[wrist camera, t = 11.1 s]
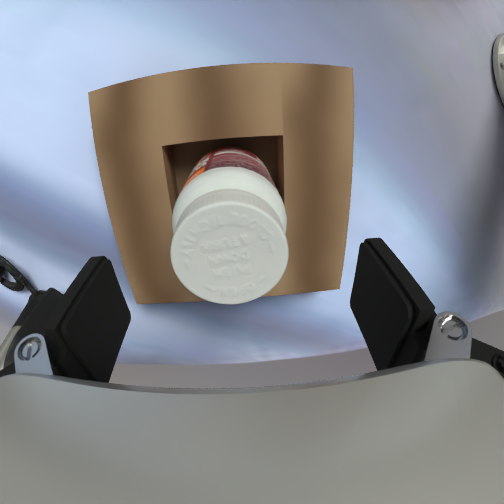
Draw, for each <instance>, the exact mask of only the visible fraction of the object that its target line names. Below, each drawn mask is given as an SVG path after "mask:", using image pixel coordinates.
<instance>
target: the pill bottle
mask: <svg viewBox="0 0 504 504" xmlns="http://www.w3.org/2000/svg"><path fill="white" fill-rule="evenodd" d="M286 227H287V216H286V211H285V207H284V203H283V201H282V198H281V196H280V194H279V192H278V190H277V188H276V186H275V184H274V182H273V180H272V178H271V176H270V174H269V172H268V170H267V168H266V167H265V165H264V164H263V162H262V161H261V160H260V159H259V158H258V157H257V156H256V155H255V154H253V153H252V152H250V151H248V150H246V149H243V148H240V147H233V146H228V147H221V148H217V149H215V150H212V151H210V152H209V153H207V154H206V155H204V156H203V157H202V158H201V159H200V160H199V162H198V163H197V164H196V166H195V167H194V169H193V170H192V172H191V174H190V176H189V177H188V179H187V181H186V183H185V185H184V186H183V189H182V190H181V192H180V194H179V196H178V199H177V201H176V203H175V206H174V209H173V215H172V229H173V234H174V235H173V238H172V242H171V248H170V257H171V263H172V266H173V269H174V272H175V274H176V275H177V277H178V279H179V280H180V282H181V283H182V284H183V285H184V286H185V287H186V288H187V289H188V290H189V291H191V292H192V293H193V294H195V295H196V296H198V297H200V298H202V299H205V300H207V301H211V302H214V303H219V304H240V303H245V302H249V301H252V300H255V299H257V298H259V297H261V296H262V295H264V294H266V293H267V292H269V291H270V290H271V289H272V288H273V287H274V286H275V285H276V284H277V283H278V282H279V280H280V279H281V277H282V275H283V274H284V271H285V269H286V266H287V262H288V254H289V251H288V243H287V238H286V235H285V233H286Z"/></svg>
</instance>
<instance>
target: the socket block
mask: <svg viewBox="0 0 504 504" xmlns="http://www.w3.org/2000/svg"><path fill="white" fill-rule="evenodd" d="M88 94H89V105H90V114H91V122H92V129H93V136H94V143H95V149H96V155H97V161H98V166H99V171H100V176H101V181H102V186H103V191H104V195H105V199H106V204H107V208H108V212H109V216H110V220H111V224H112V227H113V231H114V235H115V238H116V242H117V245H118V248H119V252H120V255H121V258H122V262H123V265H124V268H125V271H126V274H127V277H128V280H129V283H130V286H131V289H132V292H133V294H134V297H135V300H136V303H137V304H152V303H176V302H195V301H207V300H205V299H202V298H200V297H198V296H196V295H195V294H193V293H192V292H191V291H189V290H188V289H187V288H186V287H185V286H184V285H183V284H182V283H181V282H180V280H179V279H178V277H177V275H176V274H175V272H174V269H173V266H172V263H171V257H170V248H171V242H172V238H173V235H174V234H173V229H172V215H173V209H174V206H175V203H176V201H177V199H178V196H179V194H180V192H181V190H182V189H183V186H184V185H185V183H186V181H187V179H188V177H189V176H190V174H191V172H192V170H193V169H194V167H195V166H196V164H197V163H198V162H199V160H200V159H201V158H202V157H203V156H204V155H206V154H207V153H209V152H210V151H212V150H215V149H217V148H221V147H228V146H233V147H240V148H243V149H246V150H248V151H250V152H252V153H253V154H255V155H256V156H257V157H258V158H259V159H260V160H261V161H262V162H263V164H264V165H265V167H266V168H267V170H268V172H269V174H270V176H271V178H272V180H273V182H274V184H275V186H276V188H277V190H278V192H279V194H280V196H281V198H282V201H283V203H284V207H285V211H286V216H287V227H286V233H285V235H286V238H287V243H288V251H289V254H288V262H287V266H286V269H285V271H284V274H283V275H282V277H281V279H280V280H279V282H278V283H277V284H276V285H275V286H274V287H273V288H272V289H271V290H270V291H269V292H267V293H266V294H264V295H262V296H261V297H266V296H277V295H288V294H298V293H307V292H317V291H326V290H335V289H340V283H341V277H342V270H343V262H344V255H345V247H346V239H347V230H348V220H349V209H350V197H351V184H352V167H353V142H354V84H353V68H349V67H341V66H331V65H319V64H302V63H248V64H231V65H219V66H209V67H200V68H193V69H186V70H179V71H173V72H167V73H162V74H157V75H152V76H147V77H143V78H138V79H134V80H130V81H126V82H122V83H118V84H115V85H111V86H108V87H104V88H101V89H98V90H95V91H92V92H88Z"/></svg>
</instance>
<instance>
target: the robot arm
mask: <svg viewBox="0 0 504 504" xmlns="http://www.w3.org/2000/svg"><path fill="white" fill-rule="evenodd" d="M493 68H494V75H495V80H496V84H497V88H498V91H499V95H500V97H501V100H502V102H503V105H504V34H501V35H499V36H498V37H497V38H496V41H495V43H494V48H493ZM350 306H351V309H352V312H353V314H354V316H355V318H356V321H357V323H358V325H359V328H360V330H361V332H362V334H363V337H364V339H365V342H366V344H367V346H368V349H369V351H370V354H371V356H372V358H373V361H374V363H375V366H376V368H377V371H375V372H370V373H364V374H358V375H353V376H347V377H341V378H335V379H329V380H322V381H314V382H307V383H298V384H288V385H277V386H264V387H249V388H223V389H222V388H221V389H188V388H187V389H185V388H161V387H144V386H132V385H122V384H112V383H109V380H110V377H111V374H112V371H113V367H114V365H115V362H116V359H117V356H118V353H119V350H120V348H121V345H122V342H123V339H124V337H125V334H126V331H127V329H128V326H129V323H130V320H131V315H130V311H129V309H128V306H127V304H126V301H125V299H124V296H123V293H122V291H121V288H120V285H119V283H118V280H117V277H116V274H115V272H114V269H113V266H112V263H111V261H110V260H109V259H108V260H107V258H106V257H105V256H98V257H91V258H90V259H89V260H88V262H87V263H86V264H85V266H84V267H83V268H82V270H81V271H80V272H79V274H78V275H77V277H76V278H75V279H74V281H73V282H72V284H71V285H70V286H69V288H68V289H67V291H66V292H65V294H64V295H63V297H62V298H61V300H60V301H59V303H58V304H57V306H56V307H55V309H54V310H53V312H52V314H51V315H50V317H49V318H48V320H47V322H46V323H45V325H44V327H43V330H44V331H45V333H46V336H45V338H44V337H43V336H42V335H41V334H37V333H36V334H31V335H28V336H26V337H25V338H23V339H22V340H21V341H20V342H19V344H18V345H17V347H16V349H15V352H14V360H15V362H13V363H12V364H10V365H8V366H7V367H5V368H3V369H2V370H0V504H504V351H502V350H499V349H497V348H494V347H492V346H490V345H487V344H485V343H483V342H481V341H478V340H476V339H473V338H472V330H471V327H470V325H469V323H468V322H467V321H466V319H464V318H463V317H462V316H460V315H458V314H456V313H453V312H442V313H439V314H438V315H437V314H436V313H435V311H434V309H435V306H434V305H433V303H432V302H431V301H430V299H429V298H428V297H427V295H426V294H425V292H424V291H423V290H422V288H421V287H420V286H419V284H418V283H417V282H416V281H415V279H414V278H413V277H412V275H411V274H410V273H409V271H408V270H407V269H406V268H405V266H404V265H403V264H402V263H401V261H400V260H399V259H398V258H397V257H396V255H395V254H394V253H393V252H392V250H391V249H390V248H389V247H388V246H387V245H386V243H385V242H384V241H383V240H382V239H381V238H368V239H365V241H364V243H361V244H360V248H359V254H358V260H357V266H356V272H355V278H354V283H353V288H352V293H351V298H350Z"/></svg>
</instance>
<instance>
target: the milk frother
mask: <svg viewBox="0 0 504 504" xmlns="http://www.w3.org/2000/svg"><path fill="white" fill-rule="evenodd" d="M5 270H7V271H8V272H9V273H10V274H11V275H12V276H13V277H14V279H15V280H16V282H15V283H14V282H10V281H8V280H6V279H4V278H3V275H4V273H5ZM0 282H1V284H2V285H4V286H5V287H7V288H9V289H11V290H13V291H21V290H23V289H24V286H25V287H26V288H27V289H28V290H29V291H30V292H31V293H32V294H31V296H30V297H29V300H28V303H27V305H26V306H25V308H24V310H23V311H22V313H21V314H20V316H19V318H18V319H17V321H16V322H15V324H14V326H13V327H12V329H11V330H10V332H9V333H8V335H7V337H6V338H5V340H4V341H3V343H2V345H1V346H0V370H2V369H3V368H5V367H7V366H8V365H10V364H12V363H13V362H15V360H14V352H15V349H16V347H17V345H18V344H19V342H20V341H21V340H22V339H23V338H25V337H26V336H28V335H31V334H36V333H37V334H41V335H42V336H43V337H44V338H45V336H46V333H45V331H44V330H43V327H44V325H45V323H46V322H47V320H48V318H49V317H50V315H51V314H52V312H53V310H54V309H55V307H56V306H57V304H58V303H59V301H60V300H61V298H62V297H63V294H62V293H60V292H59V291H57V290H56V289H54V288H49V289H48V290H47V291H43V290H39V291H36V290H35V289H34V288H33V287H32V285H31V284H30V283H29V282H28V281H27V280H26V278H25V277H24V276H23V275H22V274H21V273H20V272H19V271H18V270H17V269H16V268H15V267H14V266H13V265H12V264H11V263H10V262H9V261H8V260H6V259H5V258H4V257H2V256H1V255H0Z"/></svg>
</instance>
